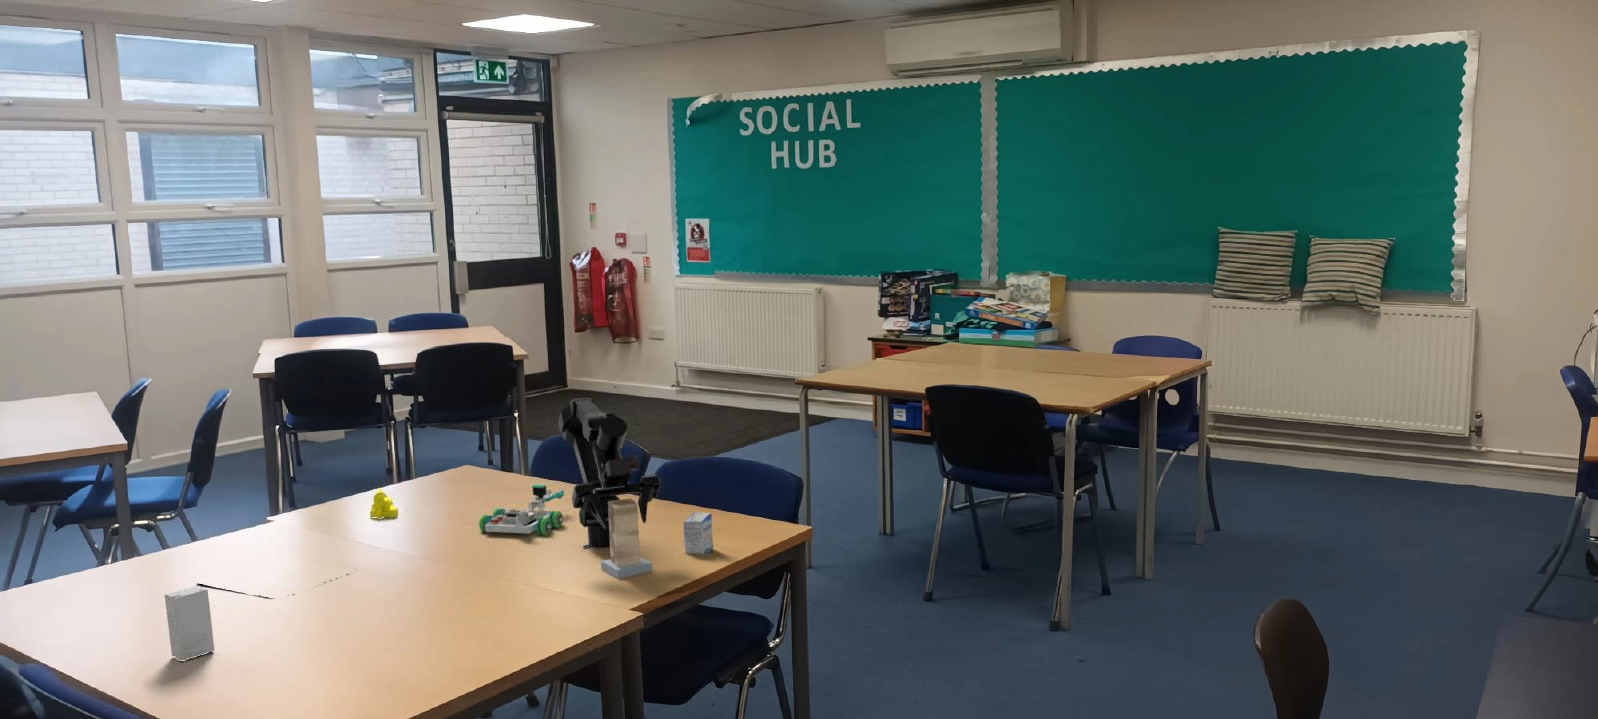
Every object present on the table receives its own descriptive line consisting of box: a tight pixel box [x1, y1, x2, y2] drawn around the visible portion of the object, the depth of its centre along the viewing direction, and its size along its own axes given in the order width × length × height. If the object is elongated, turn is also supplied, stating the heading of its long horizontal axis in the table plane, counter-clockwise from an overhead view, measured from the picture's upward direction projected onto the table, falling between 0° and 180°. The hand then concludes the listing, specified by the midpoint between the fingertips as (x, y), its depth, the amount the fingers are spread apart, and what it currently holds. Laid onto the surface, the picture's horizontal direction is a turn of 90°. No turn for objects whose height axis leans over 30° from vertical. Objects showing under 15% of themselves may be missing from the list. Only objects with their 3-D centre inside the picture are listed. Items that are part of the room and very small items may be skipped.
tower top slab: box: [600, 556, 653, 579], centre depth 244 cm, size 8×8×2 cm
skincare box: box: [164, 585, 215, 660], centre depth 206 cm, size 6×4×12 cm
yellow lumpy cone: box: [369, 487, 399, 518], centre depth 300 cm, size 6×8×8 cm
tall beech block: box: [608, 498, 641, 567], centre depth 243 cm, size 5×5×13 cm
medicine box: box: [683, 512, 714, 555], centre depth 259 cm, size 8×4×9 cm, turn 168°
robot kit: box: [478, 484, 565, 536], centre depth 288 cm, size 19×25×9 cm
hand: (625, 524), depth 242 cm, fingers open, 8 cm apart
